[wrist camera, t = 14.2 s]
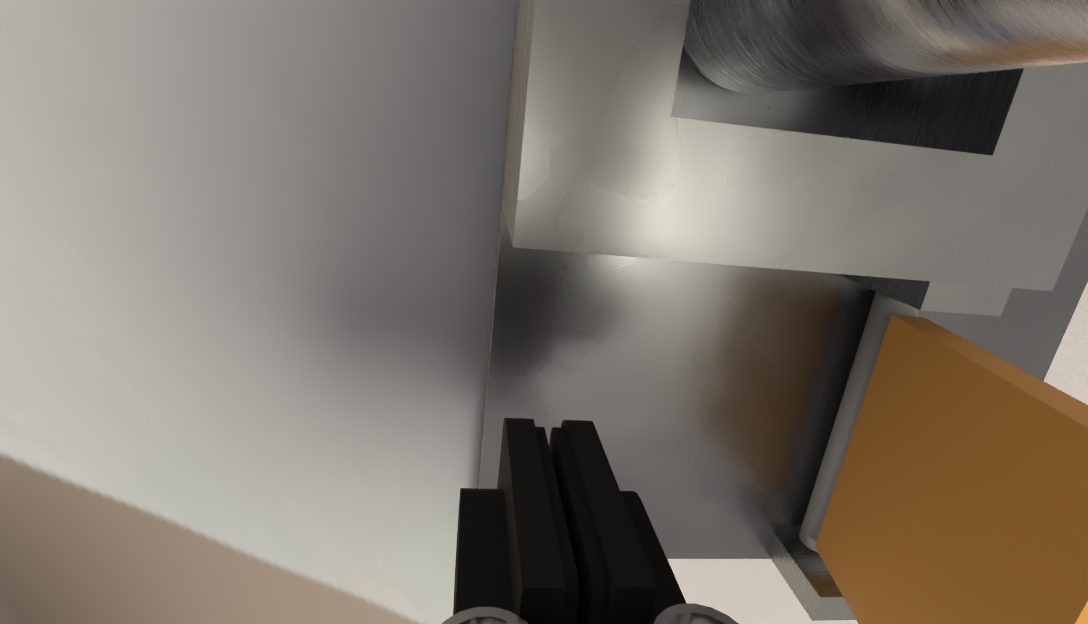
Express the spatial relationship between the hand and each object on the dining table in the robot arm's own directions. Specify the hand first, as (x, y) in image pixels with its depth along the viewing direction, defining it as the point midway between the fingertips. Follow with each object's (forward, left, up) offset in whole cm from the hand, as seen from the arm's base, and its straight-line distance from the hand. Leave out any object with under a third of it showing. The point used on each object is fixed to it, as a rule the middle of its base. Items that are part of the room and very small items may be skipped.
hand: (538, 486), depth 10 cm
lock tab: (0, +9, -3) cm, 10 cm away
